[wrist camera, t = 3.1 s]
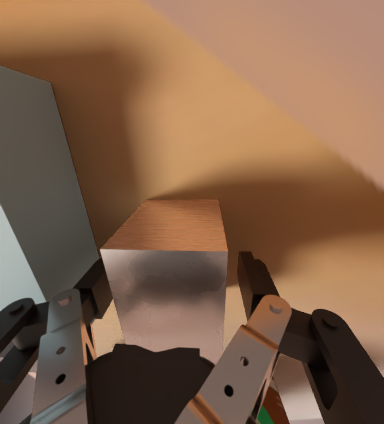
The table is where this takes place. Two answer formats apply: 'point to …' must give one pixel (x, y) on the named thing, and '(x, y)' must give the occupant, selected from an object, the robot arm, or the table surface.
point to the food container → (272, 407)
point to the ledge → (38, 198)
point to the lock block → (170, 276)
